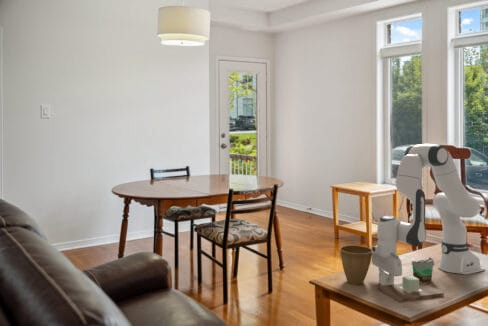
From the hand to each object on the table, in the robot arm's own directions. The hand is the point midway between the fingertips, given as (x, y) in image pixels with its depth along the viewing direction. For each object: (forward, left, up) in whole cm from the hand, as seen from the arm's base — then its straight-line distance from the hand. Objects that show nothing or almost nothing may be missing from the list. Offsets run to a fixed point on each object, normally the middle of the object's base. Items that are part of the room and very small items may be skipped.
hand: (386, 279), depth 222 cm
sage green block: (-4, +13, 0) cm, 14 cm away
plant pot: (+12, -7, -2) cm, 14 cm away
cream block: (0, 0, -2) cm, 2 cm away
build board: (-4, +13, -2) cm, 14 cm away
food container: (-20, +2, -2) cm, 20 cm away
